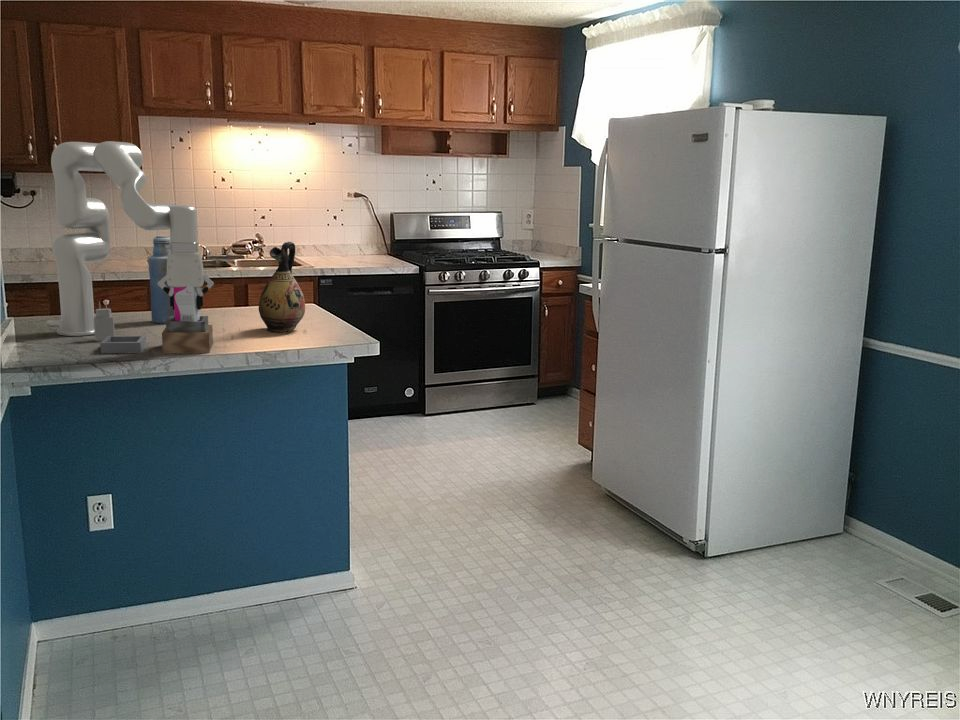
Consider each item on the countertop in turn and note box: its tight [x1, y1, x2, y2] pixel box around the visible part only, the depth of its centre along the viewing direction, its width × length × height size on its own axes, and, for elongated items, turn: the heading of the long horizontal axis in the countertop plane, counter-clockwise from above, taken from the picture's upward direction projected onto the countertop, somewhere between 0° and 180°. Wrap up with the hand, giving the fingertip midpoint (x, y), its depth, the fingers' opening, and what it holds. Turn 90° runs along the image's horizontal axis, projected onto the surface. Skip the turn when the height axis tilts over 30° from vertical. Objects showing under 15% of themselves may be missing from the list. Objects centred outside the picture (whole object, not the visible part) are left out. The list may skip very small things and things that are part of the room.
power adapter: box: [94, 301, 116, 342], centre depth 252 cm, size 3×5×12 cm, turn 126°
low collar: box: [99, 335, 148, 354], centre depth 241 cm, size 11×11×3 cm
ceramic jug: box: [258, 241, 306, 333], centre depth 277 cm, size 17×15×30 cm
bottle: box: [147, 235, 175, 325], centre depth 284 cm, size 10×10×30 cm
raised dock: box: [161, 315, 214, 354], centre depth 245 cm, size 13×13×9 cm
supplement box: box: [174, 285, 201, 321], centre depth 242 cm, size 6×6×12 cm
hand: (187, 308), depth 243 cm, fingers closed on supplement box, 6 cm apart
